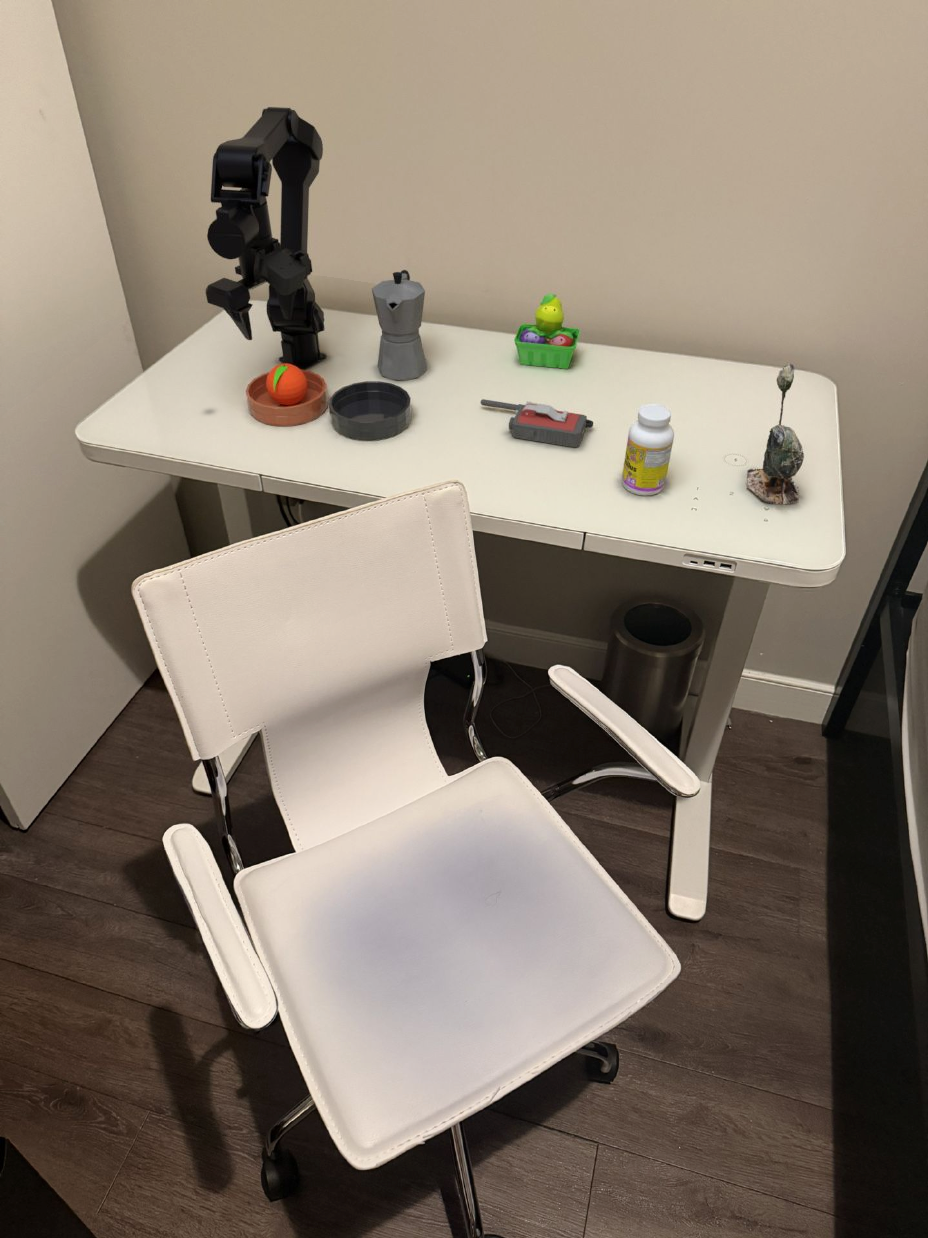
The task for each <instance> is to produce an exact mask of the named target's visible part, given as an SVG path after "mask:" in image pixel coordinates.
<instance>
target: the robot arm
mask: <svg viewBox="0 0 928 1238" xmlns="http://www.w3.org/2000/svg"><path fill="white" fill-rule="evenodd" d="M323 145H324V144H323V139H322V138H321V135H320V133H319V132H318V131H317V128H316V127H315V126H314V125H313V124H311V123H309V122H308V121H306V120H304V119H303V118H301V117H300V116H299V115H298V113H297V111H296V110H295V109H292V108H291V107H280V106H279V107H278V106H268V107H266V108H263V109H262V111H261V116H260V117H259V119H257V121H256V122H255V123H254V124H253V125H252V126H251V127H250V128H249V130H248V131H247V132H246V133H245V134H244V135H243V136H242V137H240V138H236V139H230V140H226V141H224V142H222V143H219V145H218V146H217V147H216V150H215V153H214V154H213V157H212V167H211V168H212V169H211V183H210V185H211V187H210V202H211V203H213V204H215V203H216V204H220V205H221V206H219V207H218V208H217V209H215V217H216V218H215V219H214V220H213V221H212V222H211V223H210V224H209V226H208V228H207V234H206V237H207V242H208V245H209V246H210V248H211V250H212V251H213V252H214V253H215V254H216V255H218V256H219V257H221V258H223V259H226V260H236V259H238V263H239V264H238V265H237V266H235V267H234V271H235V275H239V276H241V279H239V280H237V281H236V280H233V279H230V278H226V277H222V278H220V279H218V280H216V281H214V282H212V283H210V284H207V286H206V288H205V297H206V301H207V304H209V305H213V306H215V307H219V308H221V309H223V310H224V312H225V313H226V314H227V315H228V316H229V317H230V319H231V320H232V322H234V324H235V326H236V327H237V328H238V330H239V331H240V333H241V334H242V335H243V337H244V339H246V340H247V341H252V340H253V331H252V325H251V319H250V314H249V313H250V310H251V309H252V308H253V305H254V304H252V303H250V300H251V294H250V291H252V290H254V289H256V288H258V287H260V286H262V285H264V284H268V299H267V302H266V315H267V318H268V322H269V324H270V327H271V330H272V332H273V333H276V332H277V333H279V332H280V336H281V341H280V346H281V353H282V355H281V356H280V357H279V358H278V361H279V362H281V363H282V364H283V363H288V364H292V365H294V366H296V367H298V368H299V369H302V370H308V369H309V368H310V367H312V366H314V365H316V364H318V363H320V362H321V361H323V360H325V359H326V358H327V354H326V353H323V352H321V349H320V343H319V342H320V341H319V333H322V332H324V331H325V330H326V328H325V312H324V311H323V309H322V308H321V306H319V304H318V303H317V302H316V292H315V290H314V288H313V286H312V284H311V282H310V280H309V278H308V277H309V276H310V275H311V274H312V273H313V265H312V259H311V258H310V255H309V253H308V243H309V242H308V240H309V239H308V237H309V236H308V235H309V206H310V205H309V203H310V201H309V200H310V188H311V186H312V184H313V182H314V181H315V179H316V178H317V176H318V175H319V172H320V163H321V160H322V158H323V154H324V146H323ZM273 169H274V170H275V172H276V173H275V174H276V175H277V177H278V179H279V181H280V184H281V188H280V189H281V190H280V191H281V192H280V194H281V197H280V233H279V234H280V235H279V236H280V238H279V239H280V240H279V239H278V238H275V237H273V233H272V225H271V220H270V213H269V205H268V199H267V198H268V197H269V193H270V187H271V179H272V174H273V173H272V171H273ZM223 187H224V188H223ZM225 188H232V189H225ZM233 188H235V189H233ZM279 241H280V242H279Z"/></svg>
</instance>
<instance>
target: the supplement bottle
mask: <svg viewBox="0 0 928 1238" xmlns="http://www.w3.org/2000/svg"><path fill="white" fill-rule="evenodd" d="M671 418H672V411H671V409H670V408H668V407H667V406H666V405H663V404H659V403H646V404H644V405H642V406H640V407H639V409H638V412H637V420H636V421H634V422H633V423H631V425H630V427H629V429H628V433H627V434H628V435H627V441H626V450H625V455H624V461H623V468H622V475H621V483H622V485H623V487H624V488H625V490H627V491H629V492H630V493H632V494H635V495H638V496H653V495H657V494H659V493H660V492H662V491H663V490H664V488H665V486H666V481H667V476H668V471H669V466H670V461H671V454H672V449H673V444H674V439H675V431H674V429H673V427H672V425H671V424H670V423H671Z"/></svg>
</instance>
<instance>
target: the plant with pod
mask: <svg viewBox="0 0 928 1238" xmlns="http://www.w3.org/2000/svg"><path fill="white" fill-rule="evenodd" d="M794 378H795V366H794V364H792V363H786V365H784V366H783V367H782V369H781V370H779V372H778V375H777V377H776V385H777V387H778V389H779V390H780V392H781V403H780V404H781V405H780V406H781V407H780V414H779V421H778V424H777V425H775V426H772V427H771V428H770V430H769V435H768V438H767V442H766V445H765V446H766V449H765V452H764V454H763V462H762V468H754V469H753V468H749V469H747V470H746V472H747V473H746V475H747V479H746V488H747V489H749V490H751V492H753V494H754V495H755V496H758V497H759V499H760V501H763V502H764V503H767V504H773V505H779V504H780V505H785V504H786V505H792V504H795V502H798V501H799V500H800V495H799V490H798V489H799V486H797V485H796V484H795V481H793V477H795V476H796V475H797V473H798V472H799V471H800V469H801V467H802V465H803V462H804V460H805V454H804V449H803V448H804V447H803V445H802V444H801V443H802V442H801V441H800V440H799V437H798V436H797V433H796V432H795V430H794V429H792V428H791V427H790V426H786V425H782V419H783V413H784V401H785V398H786V394H787V392H788V391H789V390H790V389H791V387H792V384H793V382H794Z"/></svg>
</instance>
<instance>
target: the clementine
mask: <svg viewBox="0 0 928 1238" xmlns="http://www.w3.org/2000/svg"><path fill="white" fill-rule="evenodd" d="M269 372H270V373H269V374H268V376H267V380H266V387H267V390H268V393H269V395H270V396H271V398H272V399H274V400H275V401H276V402H277V403H280V404H283V405H293V404H296V403H298V402H299V401H301V400H302V398H303V397H304V396H305V394H306V391H307V380H306V377H305V375H304V373H303V372H302V371H301V370H300V369H299V368H298V367H296V366H294V365H292V364H288V363H283V362H282V363H279V364H277V365H275V366H274V367H272V368H271V370H270V371H269Z"/></svg>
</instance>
